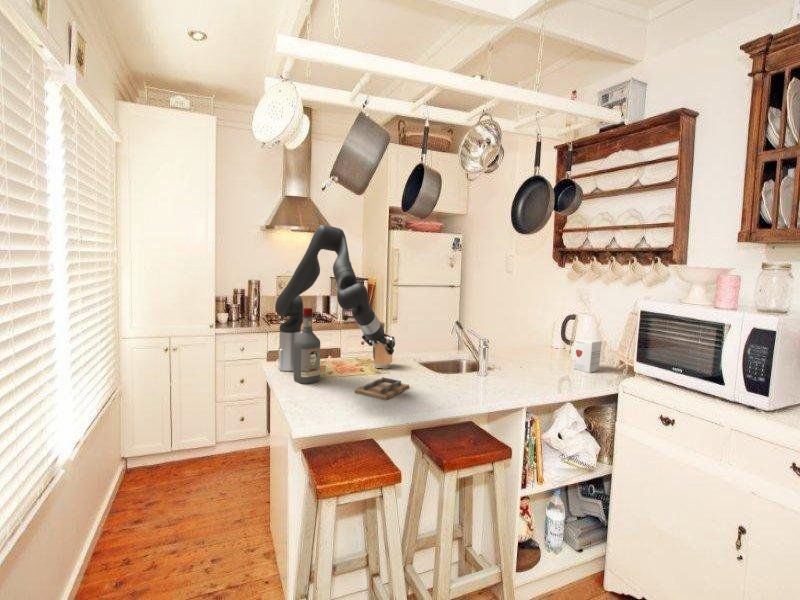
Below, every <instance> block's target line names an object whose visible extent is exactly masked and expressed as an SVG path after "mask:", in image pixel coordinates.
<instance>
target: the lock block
mask: <svg viewBox="0 0 800 600" xmlns="http://www.w3.org/2000/svg"><path fill="white" fill-rule="evenodd" d="M390 338H391V336H390ZM385 343H386V341H385ZM387 346H388V344H387ZM393 354H394V353H393ZM393 354H392V355H390V354H389V352H388V350H387V349H386V348H385V347H383V346H382V345H381V344H379V343H376V345H375V360H374V359H373V365H374V364H379V365H384V366H385V365H387V364H392V363H393V356H394V355H393Z"/></svg>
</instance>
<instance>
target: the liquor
mask: <svg viewBox="0 0 800 600" xmlns="http://www.w3.org/2000/svg"><path fill="white" fill-rule="evenodd" d="M320 378H321V340H320V338H319V337H318V336H317V335H316V334H315V333H314V330H313V308H312V307H303V317H302V329H301V334H300V335H299V336H298V337H297V339H296V340H295V342H294V371H293V380H294V381H295V382H296V383H299V384H300V385H301V384H302V385H309V384H314V383H318V381H319V380H320Z"/></svg>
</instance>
